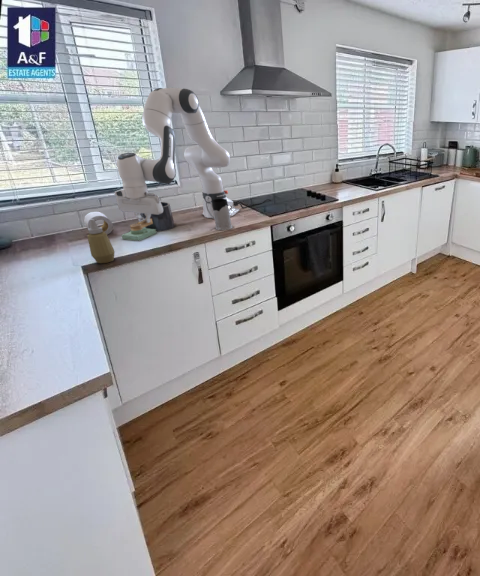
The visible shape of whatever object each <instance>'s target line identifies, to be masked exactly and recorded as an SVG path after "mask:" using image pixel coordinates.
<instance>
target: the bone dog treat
mask: <svg viewBox="0 0 480 576" xmlns="http://www.w3.org/2000/svg"><path fill="white" fill-rule="evenodd" d="M151 224H153V222H152V219H150V222H149V223H146V222H145V220H143V221H140V222H139V221H138V222H136V223H132V224H130V225H129V227H130V228H129V229H131V230H132V231H138V230H141V229H142V228H143V227H146V226H148V225H151Z"/></svg>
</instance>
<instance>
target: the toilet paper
mask: <svg viewBox="0 0 480 576" xmlns="http://www.w3.org/2000/svg"><path fill="white" fill-rule="evenodd" d="M91 219H94V221H95V222H97V221H103V224H102V225H101V226H100V227H102V230H103V232H105V233H106V234H107V236H108V235H109V234H110V233H112V232H113V229H114V225H113V221H112V220H111V219H110V218H108V217H107V215H106V214H105V213H103V212H99V211H90V212H88V213H87V214H85V216H84V218H83V224H84V226H85V227H86V228H87V230H88V229H89V228H91V225H90V220H91Z"/></svg>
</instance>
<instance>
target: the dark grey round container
mask: <svg viewBox="0 0 480 576" xmlns="http://www.w3.org/2000/svg"><path fill="white" fill-rule="evenodd" d="M160 202H161V204H162V207H163V213H161V214H158V215H157V214H151V216H150V219H152V222H153V224H151V225H148V226H146V228H148V229H156V232H164V231H168V230H171V229H173V228H175V227H176V226H175V221H174V216H173V212H172V207H171V203H169V202H167V201H160ZM140 215H141V217H142V218H144V219H146V216H145V214H144V213H141V214H140Z"/></svg>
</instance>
